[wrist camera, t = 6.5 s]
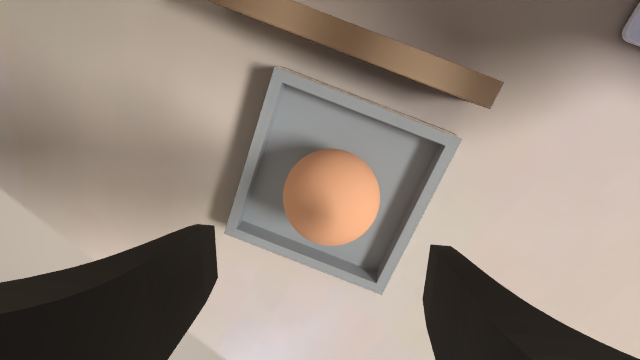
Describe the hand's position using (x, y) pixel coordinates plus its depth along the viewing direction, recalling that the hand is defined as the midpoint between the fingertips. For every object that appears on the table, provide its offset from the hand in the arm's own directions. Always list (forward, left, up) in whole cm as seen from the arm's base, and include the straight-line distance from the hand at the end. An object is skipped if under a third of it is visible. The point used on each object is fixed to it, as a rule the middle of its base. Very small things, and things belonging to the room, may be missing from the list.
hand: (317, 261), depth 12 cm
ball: (0, 0, -9) cm, 9 cm away
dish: (0, 0, -10) cm, 10 cm away
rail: (+2, -7, -10) cm, 12 cm away
